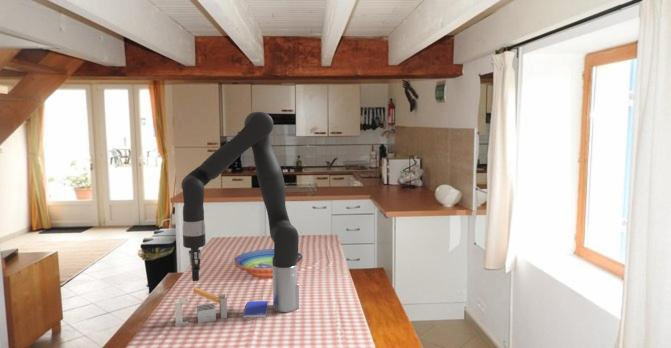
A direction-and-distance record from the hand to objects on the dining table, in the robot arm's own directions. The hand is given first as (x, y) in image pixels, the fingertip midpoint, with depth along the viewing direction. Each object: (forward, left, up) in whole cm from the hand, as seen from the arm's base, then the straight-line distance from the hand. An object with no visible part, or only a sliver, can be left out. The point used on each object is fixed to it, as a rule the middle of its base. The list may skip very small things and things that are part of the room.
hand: (195, 280), depth 166 cm
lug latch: (+5, +1, -14) cm, 15 cm away
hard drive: (-22, -2, -16) cm, 27 cm away
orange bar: (-4, +1, -7) cm, 8 cm away
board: (-2, +1, -16) cm, 16 cm away
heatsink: (-3, +1, -16) cm, 16 cm away
